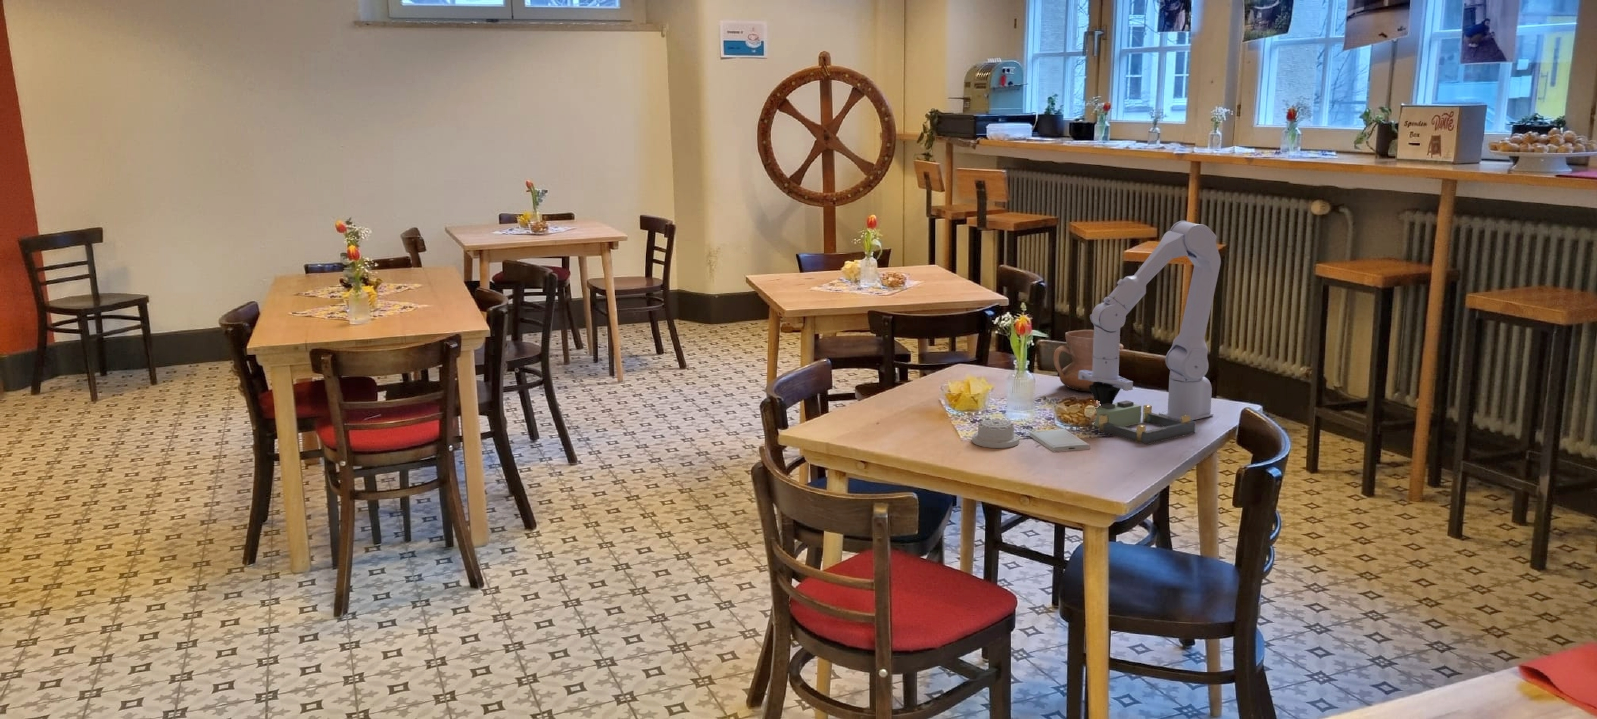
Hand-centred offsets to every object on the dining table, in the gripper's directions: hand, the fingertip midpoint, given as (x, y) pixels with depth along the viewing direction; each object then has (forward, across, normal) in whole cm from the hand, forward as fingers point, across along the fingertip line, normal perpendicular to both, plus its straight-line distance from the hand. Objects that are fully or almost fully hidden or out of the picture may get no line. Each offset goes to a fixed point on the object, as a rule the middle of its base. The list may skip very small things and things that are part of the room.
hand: (1103, 415), depth 263 cm
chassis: (+1, +11, 0) cm, 11 cm away
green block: (+1, +4, 0) cm, 4 cm away
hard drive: (+2, +7, -21) cm, 22 cm away
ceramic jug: (+1, -24, +19) cm, 30 cm away
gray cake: (+2, -1, -32) cm, 32 cm away
